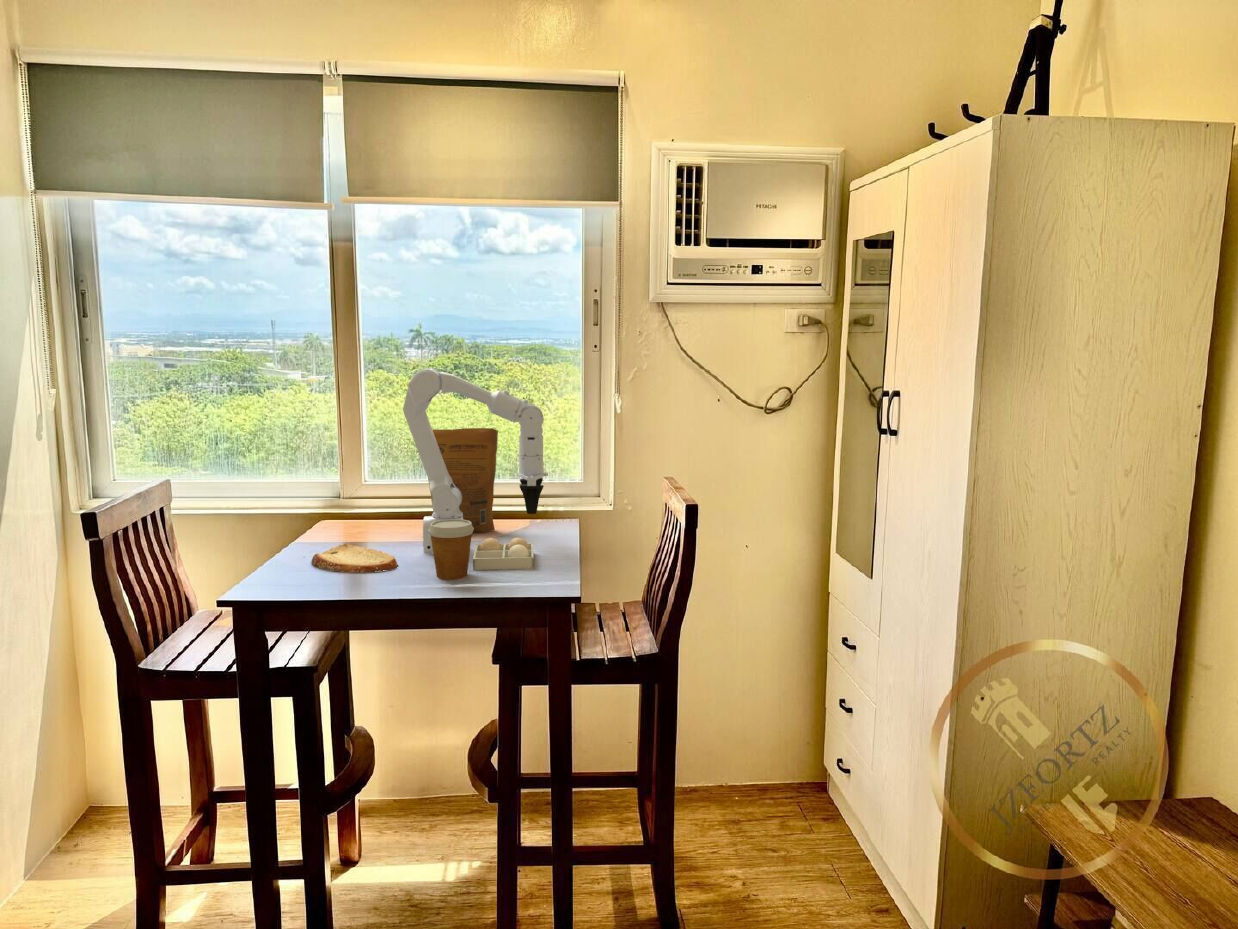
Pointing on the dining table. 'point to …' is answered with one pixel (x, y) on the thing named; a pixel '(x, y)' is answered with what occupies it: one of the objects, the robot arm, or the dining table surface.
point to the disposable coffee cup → (451, 547)
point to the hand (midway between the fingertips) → (531, 510)
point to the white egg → (518, 551)
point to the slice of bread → (354, 559)
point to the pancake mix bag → (471, 471)
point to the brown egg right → (518, 542)
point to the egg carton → (501, 559)
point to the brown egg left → (490, 545)
